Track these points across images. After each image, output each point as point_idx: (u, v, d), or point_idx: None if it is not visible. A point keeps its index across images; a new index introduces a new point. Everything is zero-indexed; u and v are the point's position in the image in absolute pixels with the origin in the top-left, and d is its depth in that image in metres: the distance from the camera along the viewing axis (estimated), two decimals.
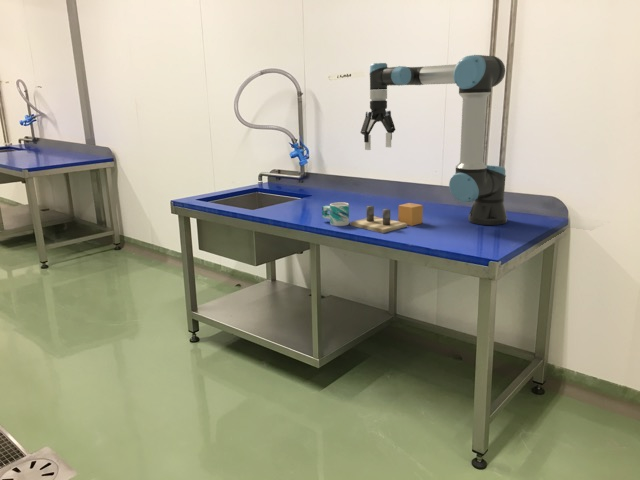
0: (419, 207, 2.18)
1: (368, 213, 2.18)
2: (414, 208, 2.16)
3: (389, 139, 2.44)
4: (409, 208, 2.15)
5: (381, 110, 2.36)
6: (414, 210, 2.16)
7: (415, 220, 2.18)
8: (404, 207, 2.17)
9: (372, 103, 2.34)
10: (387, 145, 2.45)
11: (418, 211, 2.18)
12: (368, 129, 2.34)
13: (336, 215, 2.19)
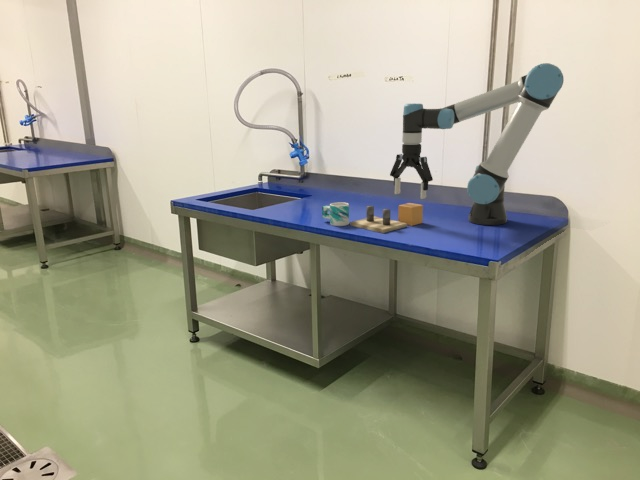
0: (419, 207, 2.18)
1: (368, 213, 2.18)
2: (414, 208, 2.16)
3: None
4: (409, 208, 2.15)
5: (411, 155, 2.13)
6: (414, 210, 2.16)
7: (415, 220, 2.18)
8: (404, 207, 2.17)
9: None
10: None
11: (418, 211, 2.18)
12: (396, 172, 2.21)
13: (336, 215, 2.19)
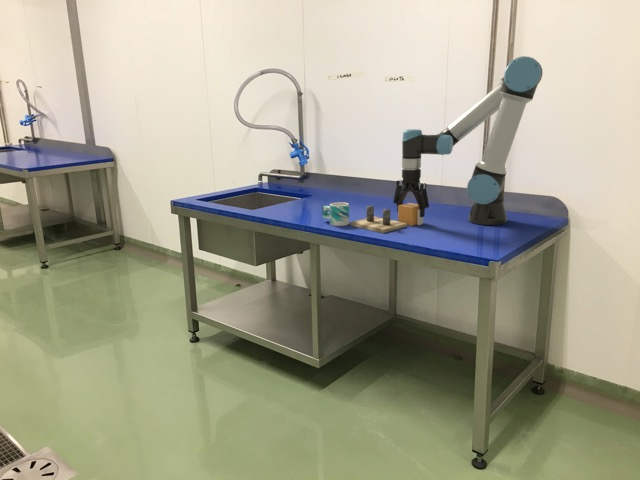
0: None
1: (368, 213, 2.18)
2: (414, 208, 2.16)
3: None
4: (409, 208, 2.15)
5: (410, 180, 2.15)
6: (414, 210, 2.16)
7: (415, 220, 2.18)
8: (404, 207, 2.17)
9: None
10: None
11: None
12: None
13: (336, 215, 2.19)
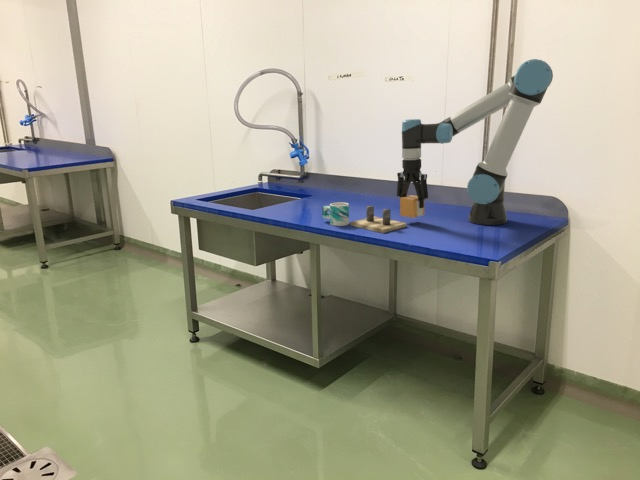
0: None
1: (368, 213, 2.18)
2: (416, 200, 2.15)
3: None
4: (411, 200, 2.14)
5: (411, 170, 2.14)
6: (416, 202, 2.15)
7: None
8: (405, 199, 2.16)
9: None
10: None
11: None
12: (402, 192, 2.21)
13: (336, 215, 2.19)
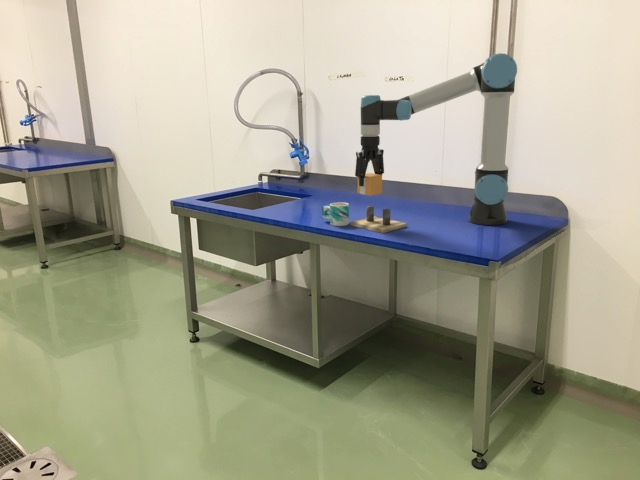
0: None
1: (368, 213, 2.18)
2: None
3: None
4: (380, 176, 2.14)
5: (373, 147, 2.12)
6: None
7: None
8: (375, 176, 2.13)
9: (363, 139, 2.09)
10: None
11: None
12: (362, 172, 2.11)
13: (336, 215, 2.19)
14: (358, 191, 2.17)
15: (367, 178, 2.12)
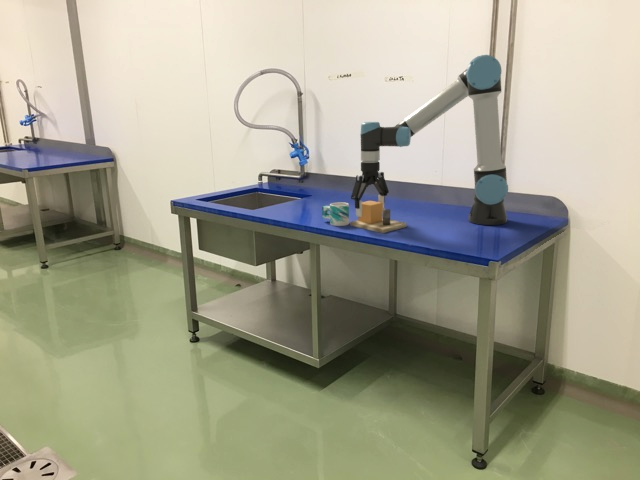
0: None
1: None
2: None
3: (382, 203, 2.22)
4: (380, 204, 2.17)
5: (373, 172, 2.15)
6: None
7: None
8: (375, 205, 2.16)
9: (363, 165, 2.12)
10: None
11: None
12: (359, 194, 2.12)
13: (336, 215, 2.19)
14: (359, 219, 2.20)
15: (368, 206, 2.15)
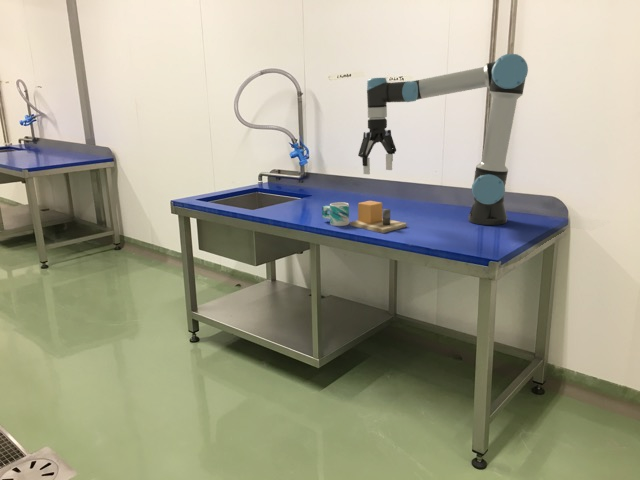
0: None
1: None
2: None
3: (390, 161, 2.19)
4: (380, 204, 2.17)
5: (380, 130, 2.12)
6: None
7: None
8: (375, 205, 2.16)
9: (370, 122, 2.09)
10: (387, 168, 2.21)
11: None
12: (367, 151, 2.10)
13: (336, 215, 2.19)
14: (359, 219, 2.20)
15: (368, 206, 2.15)
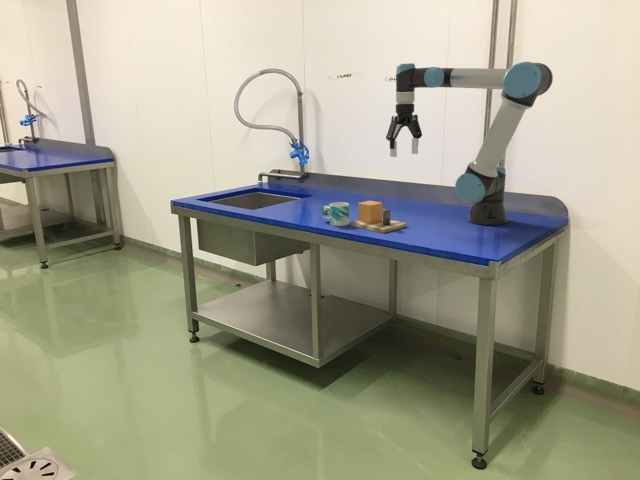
0: None
1: None
2: None
3: (415, 145, 2.27)
4: (380, 204, 2.17)
5: (408, 114, 2.20)
6: None
7: None
8: (375, 205, 2.16)
9: (398, 107, 2.17)
10: (413, 151, 2.28)
11: None
12: (394, 135, 2.17)
13: (336, 215, 2.19)
14: (359, 219, 2.20)
15: (368, 206, 2.15)
